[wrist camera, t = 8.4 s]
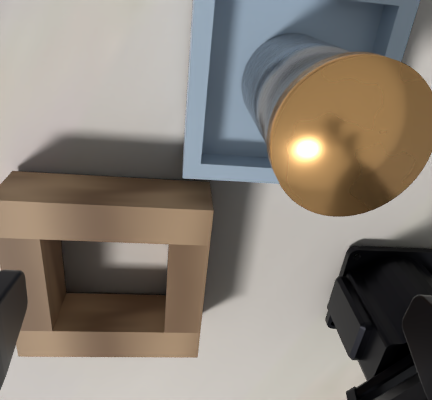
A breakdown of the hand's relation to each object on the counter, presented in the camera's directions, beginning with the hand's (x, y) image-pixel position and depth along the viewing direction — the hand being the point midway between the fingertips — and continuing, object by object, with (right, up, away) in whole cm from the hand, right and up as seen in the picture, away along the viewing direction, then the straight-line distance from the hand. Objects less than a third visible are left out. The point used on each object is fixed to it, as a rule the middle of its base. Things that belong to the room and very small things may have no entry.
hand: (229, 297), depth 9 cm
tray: (+3, +8, +10) cm, 13 cm away
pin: (+3, +8, +9) cm, 12 cm away
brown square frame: (-6, -1, +14) cm, 15 cm away
